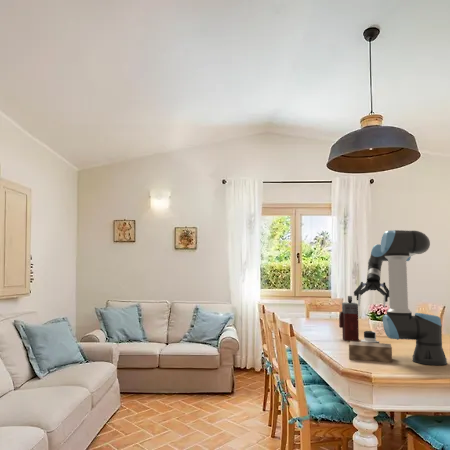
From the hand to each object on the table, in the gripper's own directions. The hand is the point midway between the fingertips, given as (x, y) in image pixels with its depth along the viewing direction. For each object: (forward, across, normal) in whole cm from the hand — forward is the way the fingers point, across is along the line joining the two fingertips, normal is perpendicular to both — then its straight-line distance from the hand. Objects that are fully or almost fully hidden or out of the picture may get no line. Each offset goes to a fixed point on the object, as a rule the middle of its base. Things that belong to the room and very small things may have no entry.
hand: (371, 304), depth 241 cm
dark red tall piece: (-8, +18, -44) cm, 48 cm away
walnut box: (+34, -1, -1) cm, 34 cm away
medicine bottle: (+26, 0, -10) cm, 28 cm away
